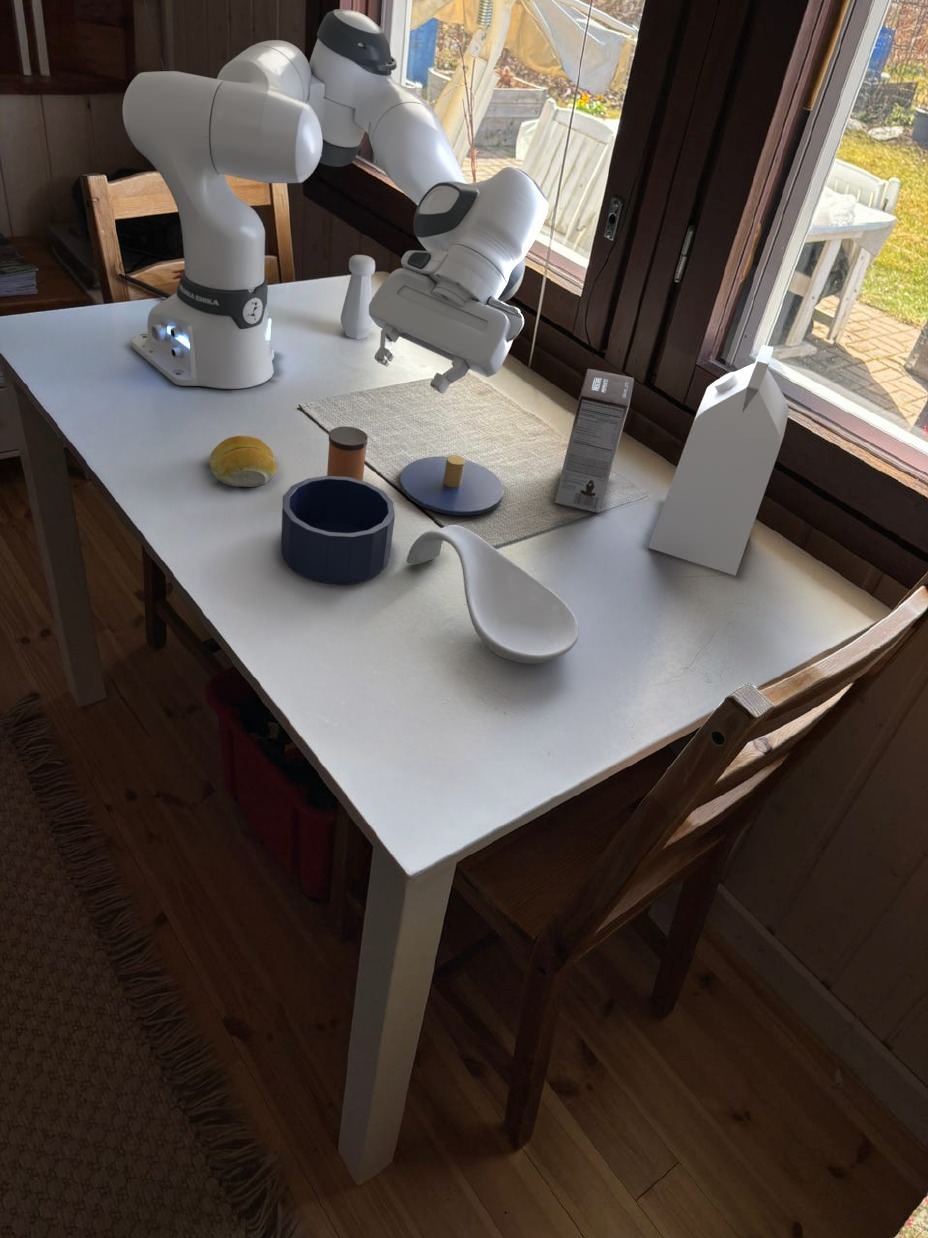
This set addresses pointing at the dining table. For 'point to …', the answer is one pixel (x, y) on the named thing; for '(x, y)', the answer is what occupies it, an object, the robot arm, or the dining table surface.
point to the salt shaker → (358, 298)
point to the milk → (724, 469)
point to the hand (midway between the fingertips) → (407, 375)
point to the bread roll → (242, 462)
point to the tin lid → (451, 485)
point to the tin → (336, 529)
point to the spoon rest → (504, 599)
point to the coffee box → (594, 439)
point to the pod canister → (347, 452)
